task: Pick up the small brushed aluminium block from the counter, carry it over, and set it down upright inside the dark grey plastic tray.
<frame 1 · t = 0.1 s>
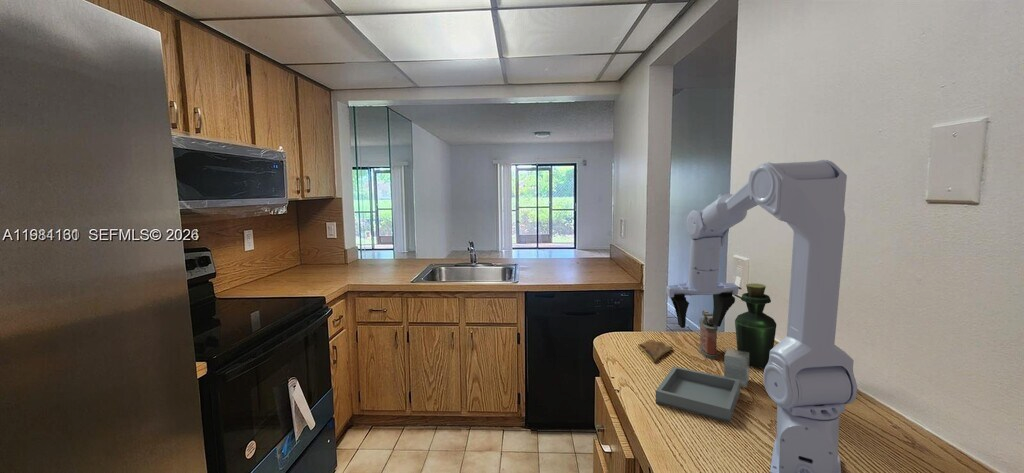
hand: (698, 325, 89), 10 cm above the counter, tool pointing down, fingers open, 7 cm apart
lighter: (707, 353, 99), on the counter
tray: (698, 397, 79), on the counter
potion bottle: (754, 363, 93), on the counter
aluminium block: (736, 381, 84), on the counter
shard: (659, 355, 101), on the counter
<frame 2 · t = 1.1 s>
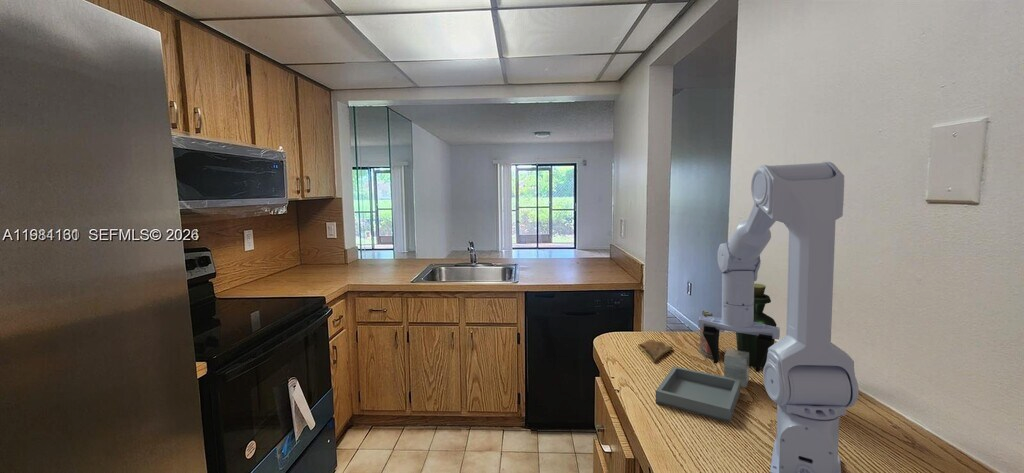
hand: (736, 365, 84), 3 cm above the counter, tool pointing down, fingers open, 7 cm apart
nothing on the counter moved.
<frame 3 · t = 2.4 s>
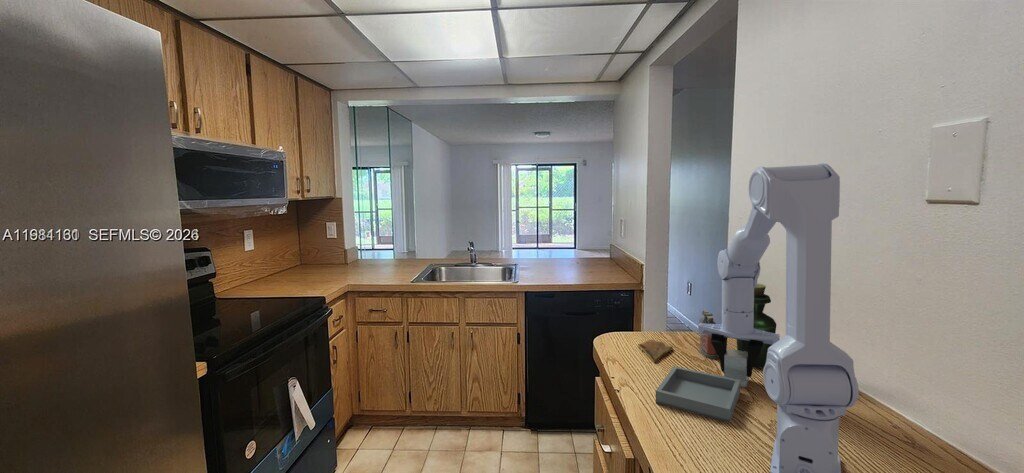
hand: (736, 372, 84), 2 cm above the counter, tool pointing down, fingers closed on aluminium block, 4 cm apart
aluminium block: (736, 381, 84), on the counter, touching gripper
everything else where it was.
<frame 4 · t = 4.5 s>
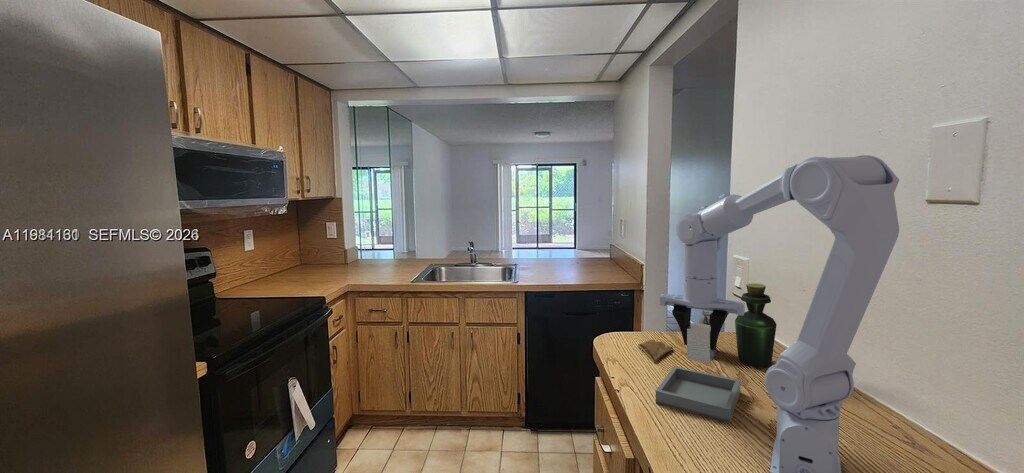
hand: (700, 345, 78), 10 cm above the counter, tool pointing down, fingers closed on aluminium block, 4 cm apart
aluminium block: (700, 357, 78), point 8 cm above the counter, touching gripper
everything else where it was.
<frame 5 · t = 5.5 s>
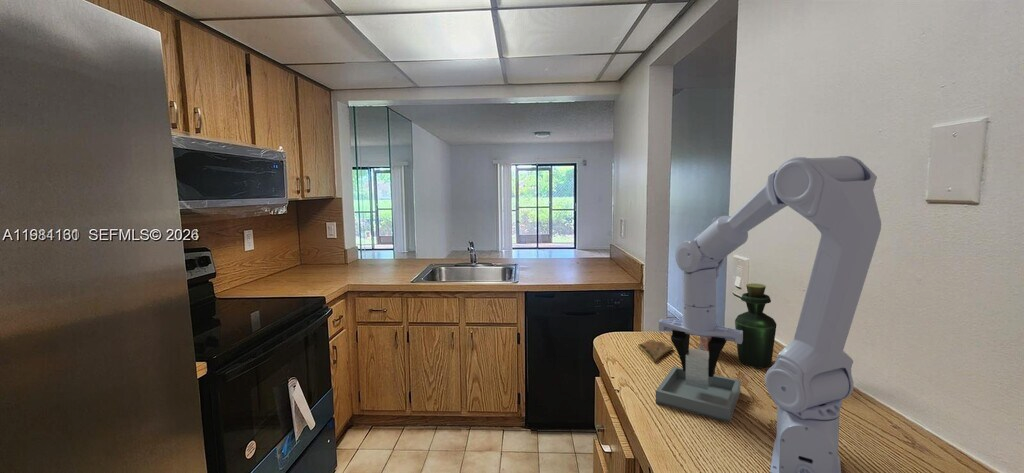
hand: (698, 371, 78), 5 cm above the counter, tool pointing down, fingers closed on aluminium block, 4 cm apart
aluminium block: (699, 383, 79), point 3 cm above the counter, touching gripper
everything else where it was.
when the fingers open (4 cm above the counter, at t = 6.6 s): aluminium block stays where it is, resting on tray.
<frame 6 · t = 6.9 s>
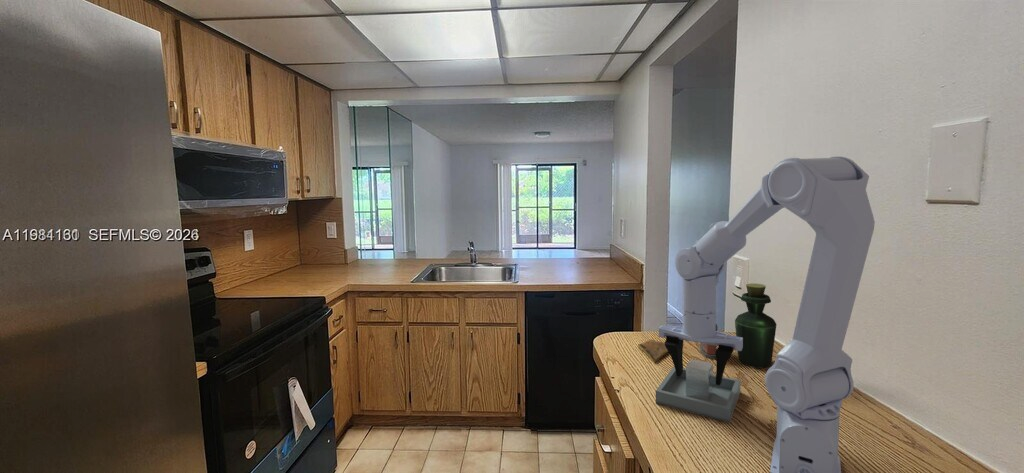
hand: (698, 378, 78), 4 cm above the counter, tool pointing down, fingers open, 6 cm apart
aluminium block: (699, 394, 79), resting on tray
everything else where it was.
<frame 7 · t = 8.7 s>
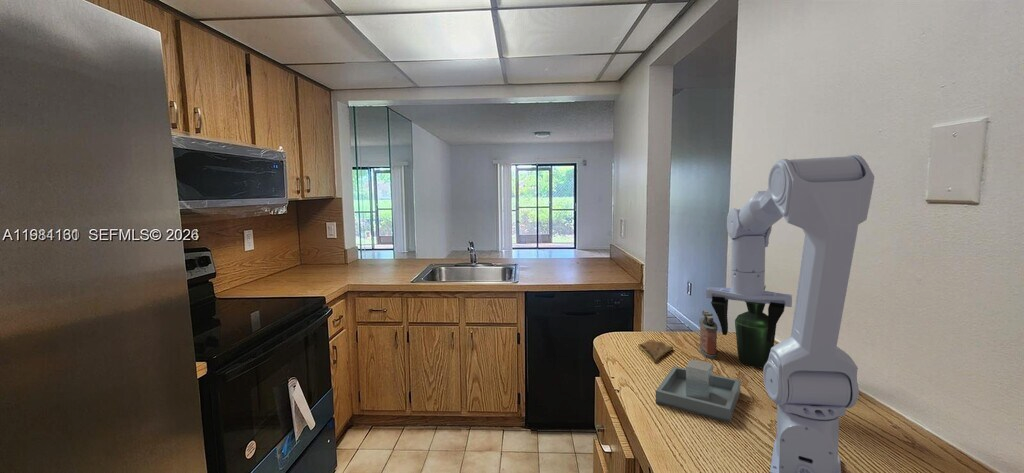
hand: (746, 336, 81), 10 cm above the counter, tool pointing down, fingers open, 7 cm apart
nothing on the counter moved.
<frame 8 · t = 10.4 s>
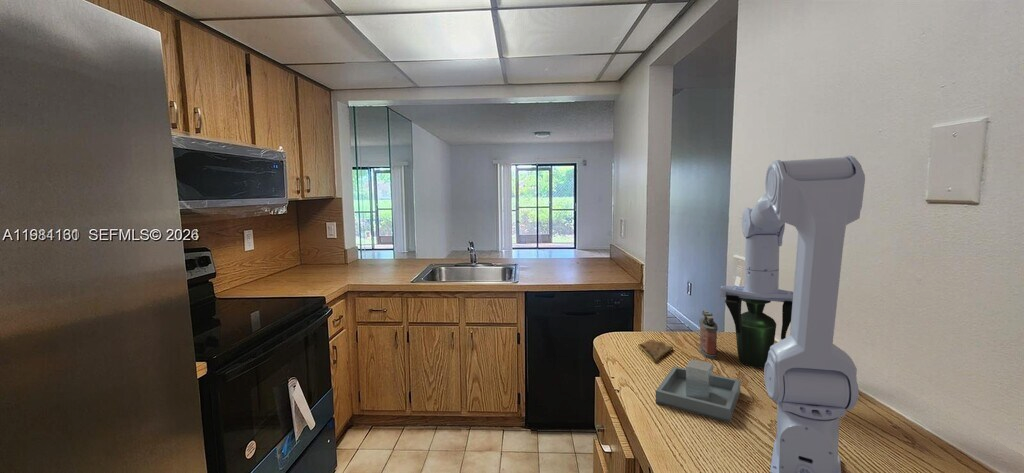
hand: (760, 334, 82), 10 cm above the counter, tool pointing down, fingers open, 7 cm apart
nothing on the counter moved.
at the end: aluminium block inside the target area on the tray (0.4 cm from its centre), point 0.5 cm above the tray's base; aluminium block tilted 0°; the gripper is holding nothing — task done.
